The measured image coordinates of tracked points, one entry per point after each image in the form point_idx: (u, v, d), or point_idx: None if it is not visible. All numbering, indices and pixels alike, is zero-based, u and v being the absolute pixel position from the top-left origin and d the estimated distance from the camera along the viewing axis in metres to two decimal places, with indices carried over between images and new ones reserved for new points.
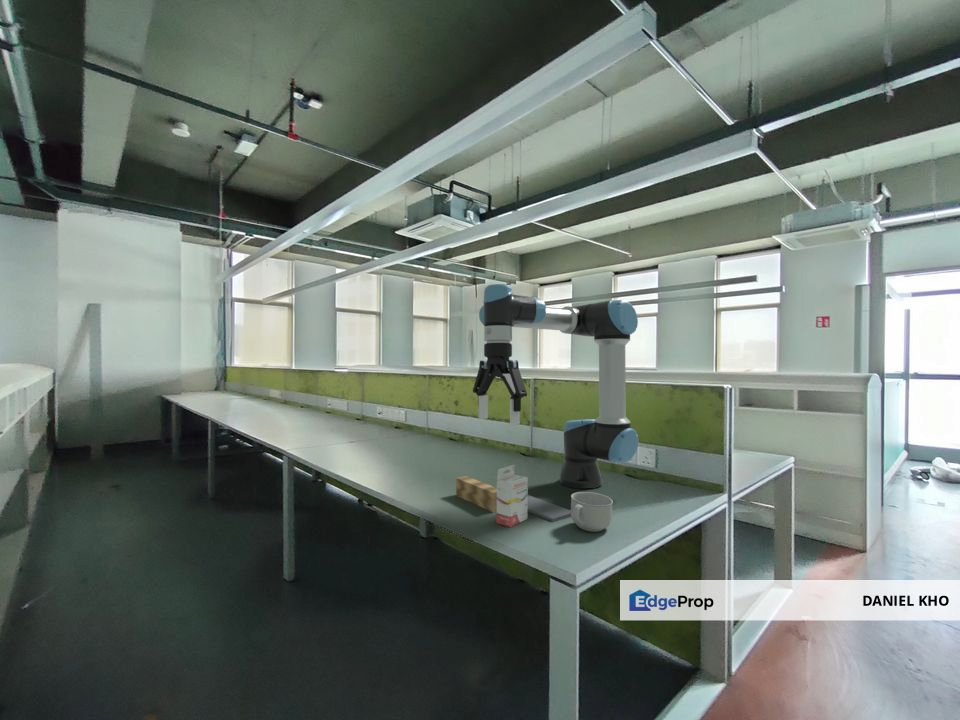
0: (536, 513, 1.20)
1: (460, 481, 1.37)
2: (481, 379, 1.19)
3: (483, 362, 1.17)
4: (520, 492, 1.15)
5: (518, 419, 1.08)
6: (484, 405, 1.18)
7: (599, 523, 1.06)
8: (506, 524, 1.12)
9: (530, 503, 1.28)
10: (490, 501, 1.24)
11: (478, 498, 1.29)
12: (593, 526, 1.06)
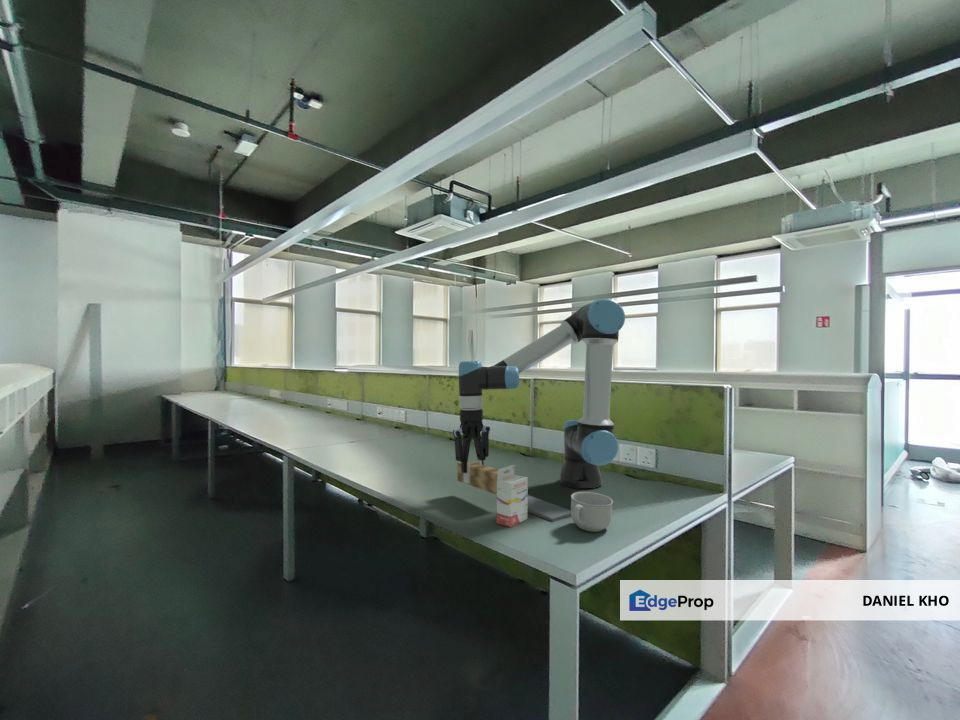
0: (536, 513, 1.20)
1: None
2: (483, 442, 1.38)
3: None
4: (520, 492, 1.15)
5: (467, 479, 1.33)
6: None
7: (599, 523, 1.06)
8: (506, 524, 1.12)
9: (530, 503, 1.28)
10: (492, 482, 1.24)
11: (480, 481, 1.29)
12: (593, 526, 1.06)
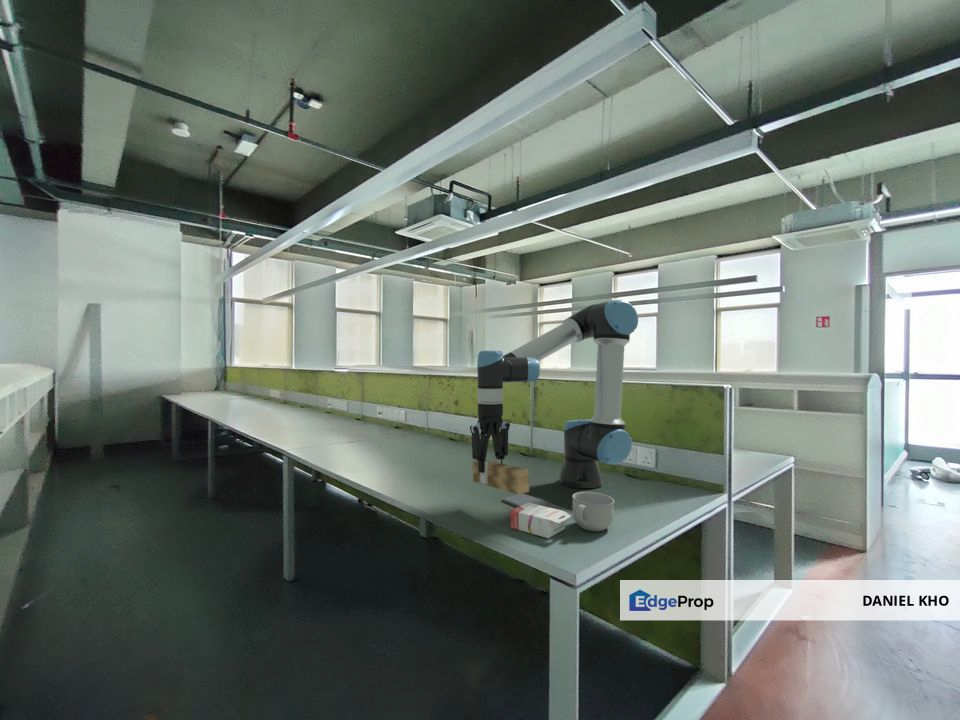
0: None
1: (477, 464, 1.25)
2: (502, 440, 1.27)
3: None
4: None
5: (485, 480, 1.21)
6: None
7: (602, 523, 1.06)
8: (511, 523, 1.11)
9: None
10: (514, 481, 1.13)
11: (499, 480, 1.17)
12: (596, 526, 1.06)
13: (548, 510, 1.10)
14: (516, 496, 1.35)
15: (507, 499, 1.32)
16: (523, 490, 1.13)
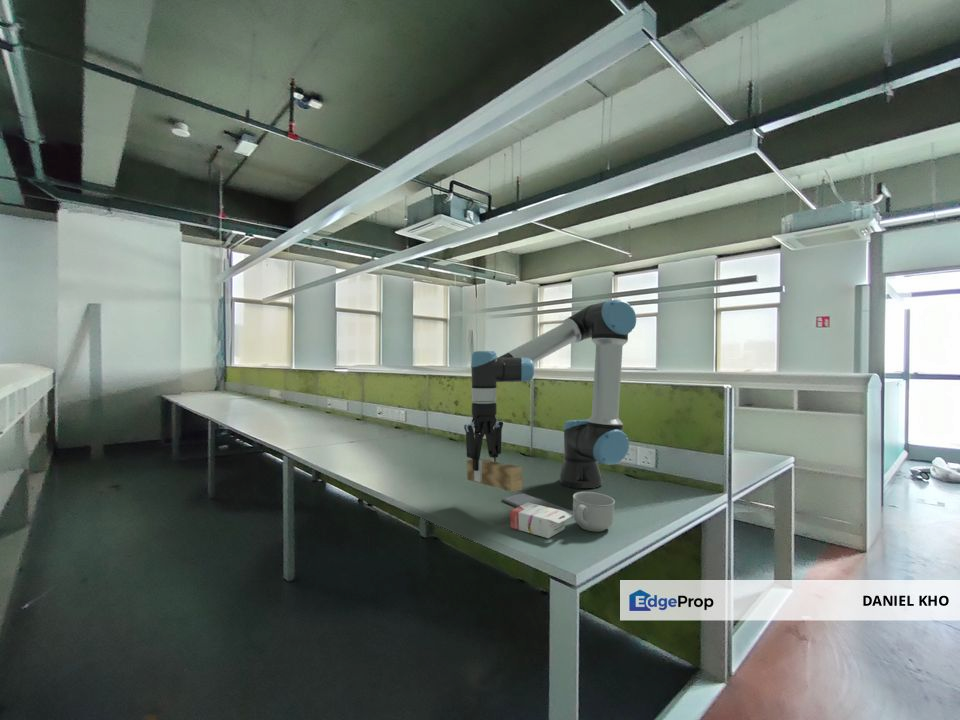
0: None
1: (471, 462, 1.28)
2: (495, 438, 1.29)
3: None
4: None
5: (479, 478, 1.24)
6: None
7: (602, 523, 1.06)
8: (511, 523, 1.11)
9: None
10: (508, 479, 1.15)
11: (493, 478, 1.20)
12: (596, 526, 1.06)
13: (548, 510, 1.10)
14: (516, 496, 1.35)
15: (507, 499, 1.32)
16: (516, 487, 1.15)
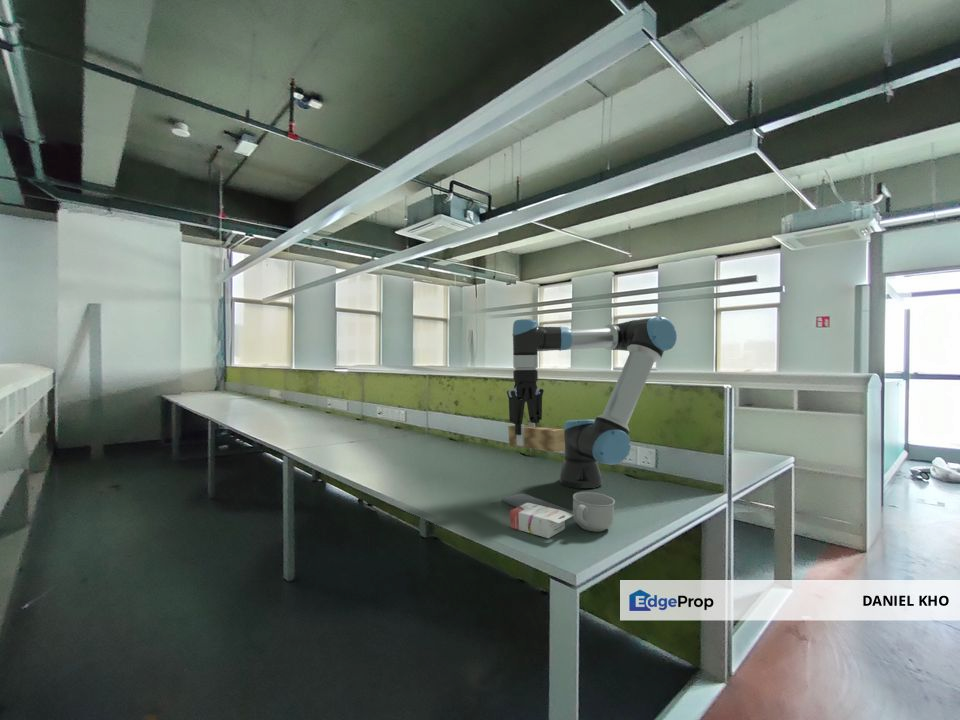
0: None
1: (513, 428, 1.32)
2: (536, 405, 1.33)
3: None
4: None
5: (521, 442, 1.28)
6: None
7: (602, 523, 1.06)
8: (511, 523, 1.11)
9: None
10: (551, 440, 1.19)
11: (536, 441, 1.24)
12: (596, 526, 1.06)
13: (548, 510, 1.10)
14: (516, 496, 1.35)
15: (507, 499, 1.32)
16: (559, 449, 1.19)
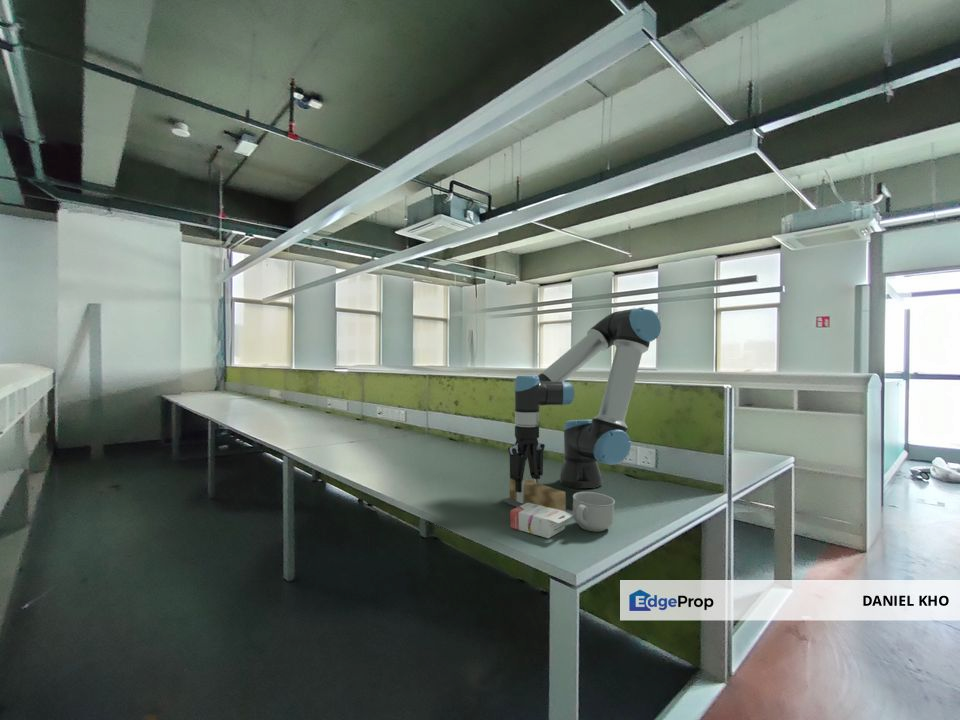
0: None
1: (514, 482, 1.31)
2: (537, 460, 1.33)
3: None
4: None
5: (521, 499, 1.27)
6: None
7: (602, 523, 1.06)
8: (511, 523, 1.11)
9: None
10: (552, 503, 1.18)
11: (537, 500, 1.23)
12: (596, 526, 1.06)
13: (548, 510, 1.10)
14: None
15: (507, 499, 1.32)
16: None
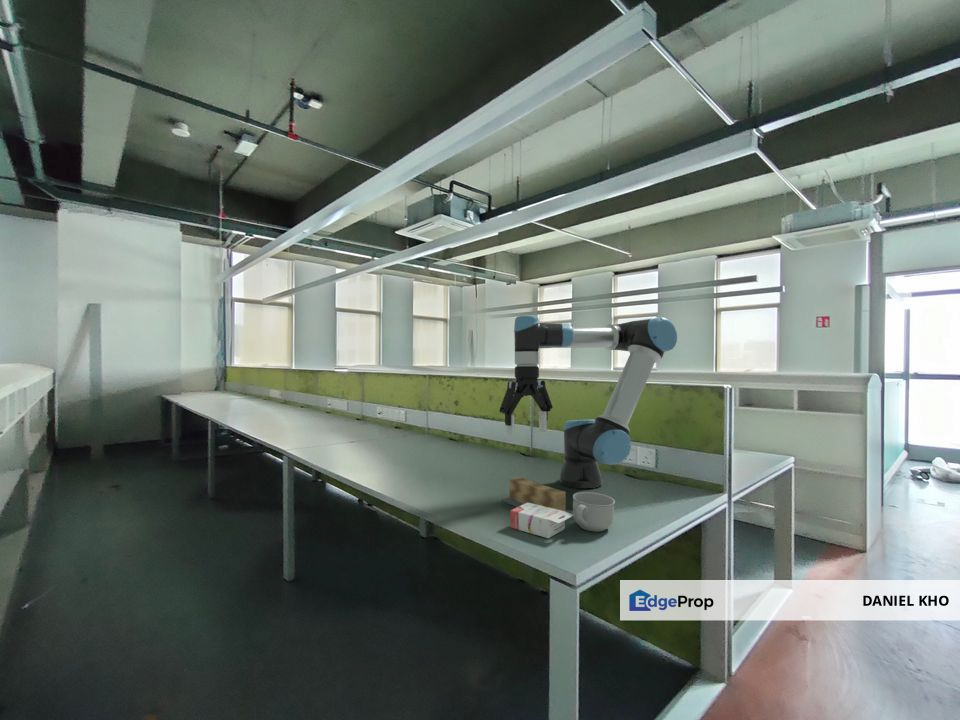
0: None
1: (514, 482, 1.31)
2: (542, 397, 1.35)
3: (538, 382, 1.34)
4: None
5: (511, 432, 1.25)
6: (542, 420, 1.34)
7: (602, 523, 1.06)
8: (511, 523, 1.11)
9: None
10: (552, 503, 1.18)
11: (537, 500, 1.23)
12: (596, 526, 1.06)
13: (548, 510, 1.10)
14: None
15: (507, 499, 1.32)
16: None
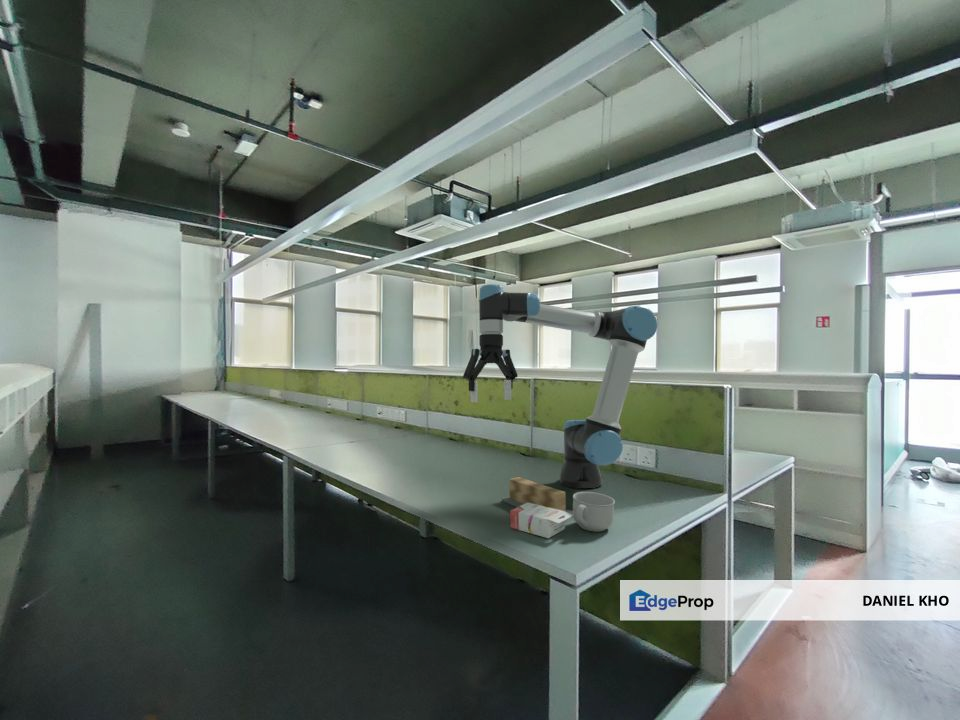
0: None
1: (514, 482, 1.31)
2: (508, 365, 1.38)
3: None
4: None
5: (474, 398, 1.28)
6: (507, 388, 1.37)
7: (602, 523, 1.06)
8: (511, 523, 1.11)
9: None
10: (552, 503, 1.18)
11: (537, 500, 1.23)
12: (596, 526, 1.06)
13: (548, 510, 1.10)
14: None
15: (507, 499, 1.32)
16: None
